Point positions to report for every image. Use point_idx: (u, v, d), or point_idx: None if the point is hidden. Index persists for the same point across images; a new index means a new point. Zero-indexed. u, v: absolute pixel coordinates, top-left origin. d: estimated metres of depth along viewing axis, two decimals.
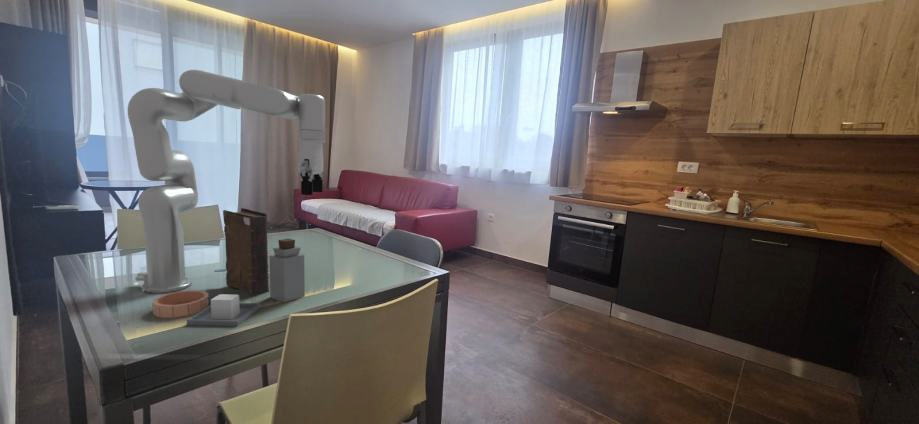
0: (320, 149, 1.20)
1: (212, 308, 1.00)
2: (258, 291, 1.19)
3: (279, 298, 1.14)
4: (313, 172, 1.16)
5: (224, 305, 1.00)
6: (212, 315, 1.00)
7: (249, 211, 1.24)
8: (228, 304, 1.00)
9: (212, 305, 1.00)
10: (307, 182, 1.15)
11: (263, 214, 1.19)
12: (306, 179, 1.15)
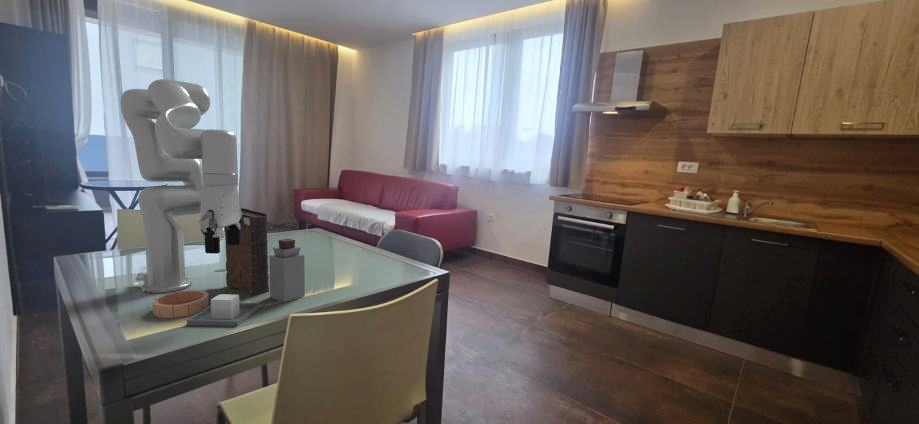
0: (231, 195, 0.98)
1: (212, 308, 1.00)
2: (258, 291, 1.19)
3: (279, 298, 1.14)
4: (220, 225, 0.94)
5: (224, 305, 1.00)
6: (212, 315, 1.00)
7: (249, 211, 1.24)
8: (228, 304, 1.00)
9: (212, 305, 1.00)
10: (211, 238, 0.93)
11: (263, 214, 1.19)
12: (209, 235, 0.93)
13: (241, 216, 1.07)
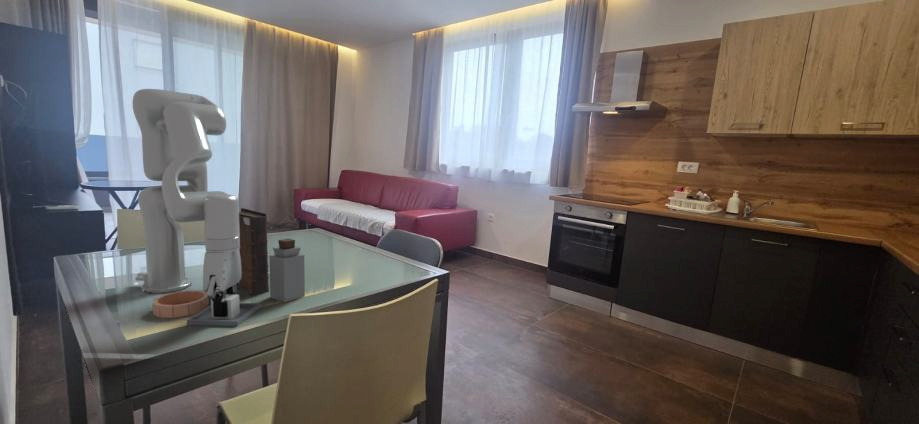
0: (233, 257, 1.00)
1: (212, 308, 1.00)
2: (258, 291, 1.19)
3: (279, 298, 1.14)
4: (222, 289, 0.97)
5: None
6: (212, 315, 1.00)
7: (249, 211, 1.24)
8: (228, 304, 1.00)
9: (212, 305, 1.00)
10: (219, 303, 0.98)
11: (263, 214, 1.19)
12: (218, 301, 0.98)
13: (238, 281, 1.07)
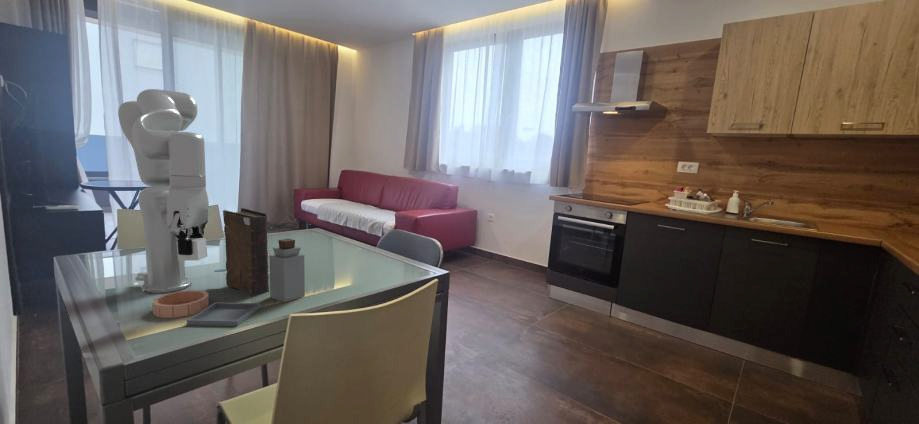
0: (199, 197, 1.01)
1: None
2: (258, 291, 1.19)
3: (279, 298, 1.14)
4: (186, 226, 0.97)
5: None
6: (179, 257, 1.01)
7: (249, 211, 1.24)
8: (194, 245, 1.01)
9: None
10: (184, 241, 0.99)
11: (263, 214, 1.19)
12: (182, 238, 0.98)
13: (205, 224, 1.08)
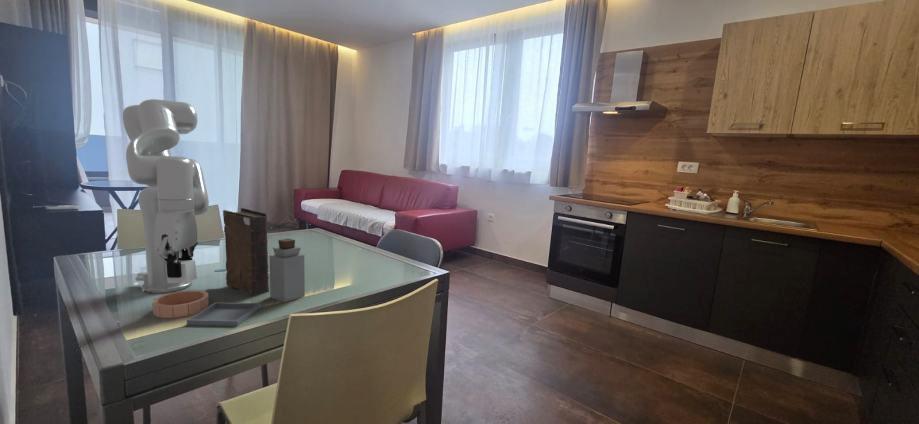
0: (187, 220, 1.02)
1: None
2: (258, 291, 1.19)
3: (279, 298, 1.14)
4: (174, 249, 0.99)
5: None
6: (168, 280, 1.02)
7: (249, 211, 1.24)
8: (183, 268, 1.02)
9: None
10: (173, 264, 1.00)
11: (263, 214, 1.19)
12: (170, 261, 1.00)
13: (195, 246, 1.09)
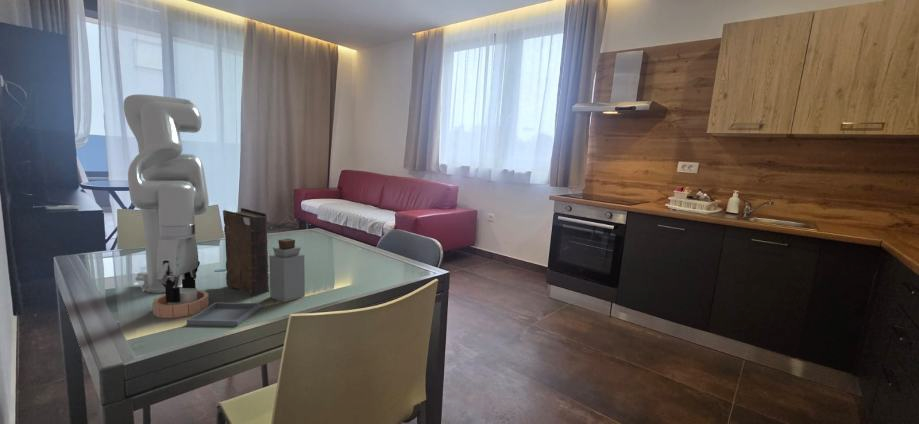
0: (188, 245, 1.03)
1: None
2: (258, 291, 1.19)
3: (279, 298, 1.14)
4: (175, 275, 1.00)
5: (181, 298, 1.03)
6: None
7: (249, 211, 1.24)
8: (185, 297, 1.03)
9: None
10: (171, 289, 1.00)
11: (263, 214, 1.19)
12: (169, 286, 1.00)
13: (198, 266, 1.11)
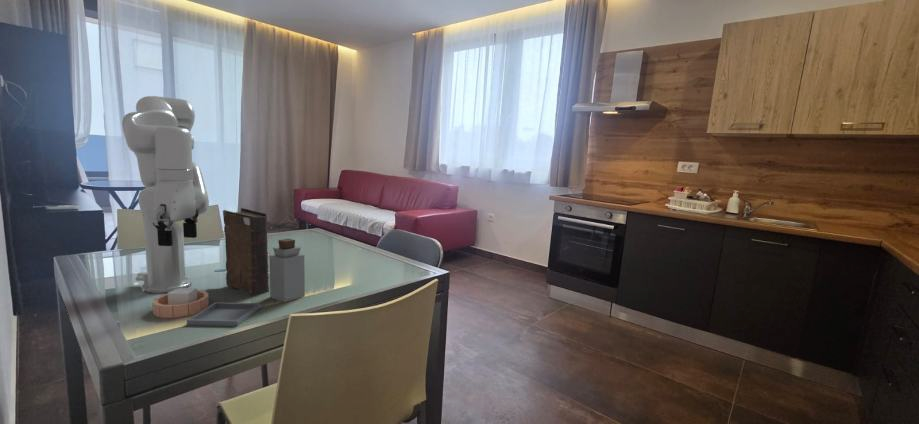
0: (186, 190, 1.02)
1: (169, 301, 1.03)
2: (258, 291, 1.19)
3: (279, 298, 1.14)
4: (172, 219, 0.98)
5: (181, 298, 1.03)
6: None
7: (249, 211, 1.24)
8: (185, 297, 1.03)
9: (169, 298, 1.03)
10: (164, 231, 0.97)
11: (263, 214, 1.19)
12: (161, 228, 0.96)
13: (198, 210, 1.10)
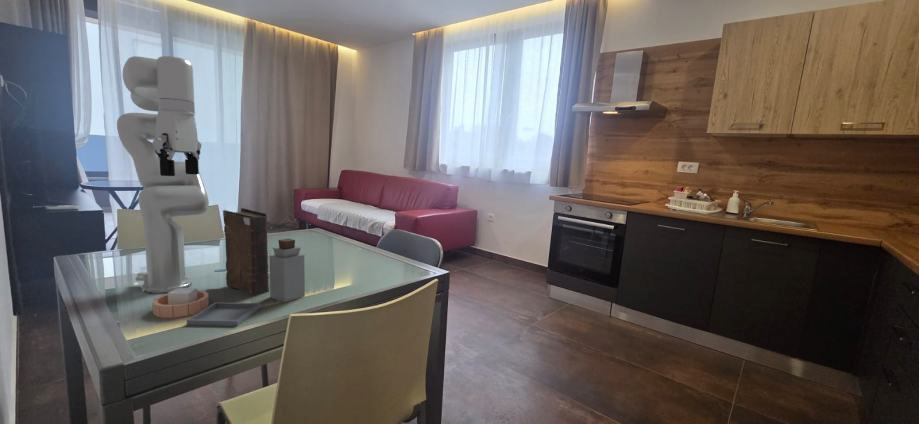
0: (187, 123, 1.02)
1: (169, 301, 1.03)
2: (258, 291, 1.19)
3: (279, 298, 1.14)
4: (174, 149, 0.98)
5: (181, 298, 1.03)
6: None
7: (249, 211, 1.24)
8: (185, 297, 1.03)
9: (169, 298, 1.03)
10: (166, 161, 0.97)
11: (263, 214, 1.19)
12: (164, 157, 0.97)
13: (200, 148, 1.11)
